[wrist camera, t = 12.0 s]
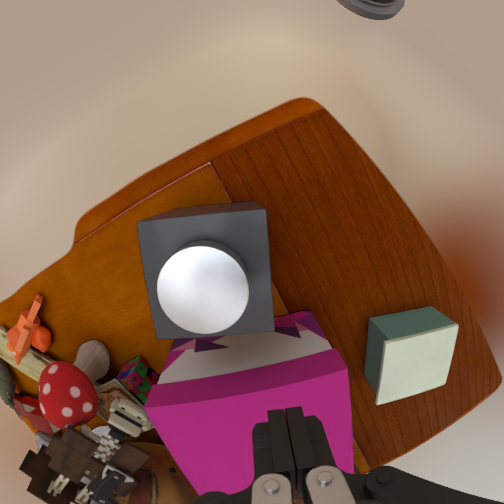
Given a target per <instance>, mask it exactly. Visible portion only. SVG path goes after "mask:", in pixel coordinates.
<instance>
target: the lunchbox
mask: <svg viewBox="0 0 504 504" xmlns="http://www.w3.org/2000/svg"><path fill="white" fill-rule="evenodd" d="M452 324H456V323H455V322H453V321H452V320H451V319H449V318H448V317H446V316H445V315H443V314H442V313H441V312H439V311H438V310H436V309H435V308H433V307H432V306H429V307H424V308H419V309H414V310H409V311H404V312H399V313H393V314H388V315H382V316H377V317H371V318H369V326H368V339H367V350H366V361H365V370H364V376H365V377H366V379H367V381H368V382H369V384H370V386H371V387H372V389H373V390H374V392H375V394H377V388H378V382H379V375H380V369H381V361H382V353H383V345H384V341H387V340H391V339H396V338H401V337H405V336H409V335H413V334H418V333H422V332H426V331H430V330H434V329H437V328H441V327H445V326H449V325H452Z"/></svg>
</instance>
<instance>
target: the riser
mask: <svg viewBox="0 0 504 504" xmlns="http://www.w3.org/2000/svg"><path fill="white" fill-rule="evenodd" d="M137 230H138V238H139V245H140V251H141V258H142V264H143V270H144V276H145V282H146V288H147V293H148V298H149V303H150V309H151V313H152V318H153V323H154V328H155V332H156V337H157V339H177V338H197V337H214V336H228V335H240V334H252V333H262V332H272V331H275V326H274V311H273V296H272V281H271V267H270V253H269V239H268V226H267V213H266V209H265V208H264V207H263V206H262V205H260V204H259V203H258V202H257V201H246V202H234V203H224V204H214V205H204V206H194V207H185V208H176V209H172V210H169V211H166V212H163V213H160V214H157V215H155V216H152V217H149V218H146V219H144V220H141V221H138V222H137ZM203 240H207V241H214V242H218V243H220V244H223V245H225V246H227V247H228V248H230V249H231V250H233V251H234V252H235V253H236V254H237V255H238V257H239V258H240V259H241V261H242V262H243V264H244V266H245V268H246V271H247V276H248V283H249V299H248V303H247V306H246V309H245V311H244V313H243V314H242V316H241V317H240V318H239V319H238V320H237V321H236V322H235V323H234V324H233V325H232V326H230V327H229V328H227V329H225V330H222V331H220V332H216V333H210V334H200V333H194V332H190V331H188V330H185V329H183V328H181V327H179V326H178V325H176V324H175V323H174V322H173V321H172V320H171V319H170V318H169V317H168V316H167V315H166V314H165V312H164V311H163V309H162V307H161V305H160V302H159V299H158V294H157V281H158V277H159V273H160V271H161V269H162V267H163V266H164V264H165V263H166V261H167V260H168V259H169V258H170V257H171V256H172V255H173V254H174V253H175V252H176V251H177V250H178V249H179V248H181V247H182V246H184V245H186V244H188V243H191V242H195V241H203Z"/></svg>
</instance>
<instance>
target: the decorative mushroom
mask: <svg viewBox="0 0 504 504" xmlns="http://www.w3.org/2000/svg"><path fill="white" fill-rule="evenodd" d="M109 364H110V354H109V352H108V349H107V348H106V347H105V345H104V344H102V343H101V342H99V341H97V340H91V341H88V342H86V343H84V344H82V345H81V346H80V347H79V350H78V352H77V358H76V360H75V362H74V364H71V363H68V362H65V361H56V362H53V363H50V364H49V365H47V366H46V367H45V368H44V369H43V371H42V373H41V375H40V379H39V382H38V384H39V406H40V409H41V412H42V414H43V415H44V417H45V419H46V420H47V421H48V422H49V423H51V424H52V425H53V426H55V427H57V428H61V429H66V428H67V426H68V425H70V426H71V427H73V428H74V427H76V426H79V425H83V424H86V423H87V422H89V421H90V420H91V419H92V418H94V416H95V414H96V413H97V409H98V396H97V392H96V389H95V387H94V385H93V383H94V382H95V381H96V380H97V379H100V378H102V377H104V376H105V375H106V374H107V372H108V370H109Z"/></svg>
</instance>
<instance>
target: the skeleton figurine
mask: <svg viewBox="0 0 504 504" xmlns="http://www.w3.org/2000/svg"><path fill="white" fill-rule="evenodd" d="M110 411H111V414H110V417H109V419H108V422H109V423H110V424H109V428H110V431H109V433H108V434H107V436H106V437H105V436H104V435H102V436H101V437H100V436H98V435H96V434H95V433H93V432H91V431H90V430H91V427H89V426H87V425H86V424H83V426H82V428H81V429H80V431H78V430H76V429H74V428H73V427H71V426H70V425H68V426H67V428H66V430H65V432H64V434H63V435H62V437H61V436H59V435H58V434H56V433H54V435H53V437H52V439H51V441H50V443H49V445H48V447H47V446H45V445H44V444H43V445H42V446H41V448H40V450H39V452H38V454H36V453H34V452H33V451H31V450H29V452H28V454H27V455H26V457H25V459H24V461H23V463H22V464H21V466H20V468H19V469H20V470H21V471H22V472H24V473H25V474H27V475H28V476H30V477H31V478H32V480H31V482H30V484H29V486H28V488H27V491H28V492H30V493H31V494H33V495H34V496H36V497H38V498H39V499H41V500H42V501H44V502H46V503H47V504H70V502H73V503H75V504H90V503H91V499H90V498H89V495H91V494H93V493H94V489H95V485H96V484H97V482H98V481H99V480H100V479H101V478H102V473H103V470H104V468H105V466H106V465H107V464H109V465H110V466H112V467H114V468H115V467H117V468H119V469H120V470H122V471H124V472H125V474H126V475H128V476H130V477H132V476H131V475H132V474H133V473H134V472H135V471H136V470H137V469H138V468H139V467H140V466H141V465H142V464H143V463H144V462H145V461H146V460H147V459H148V458H149V457H150V456H151V453H150V452H148V451H146V450H144V449H142V448H140V447H138V446H136V445H134V444H132V443H130V442H128V441H125V443H124V444H123V445H122V446H121V445H120V444H118V442H119V441H121V440H122V439H124V438H125V437H126V438H129V437H130V436H133V437H135V438H136V437H138V436H139V434H140V431H141V429H143V430H145V431H146V430H148V429H149V427H150V424H151V420H150V418H148V417H149V416H148V414H147V413H146V411H145V409H144V408H142V407H140V406H138V405H137V404H135V403H133V402H132V401H130V400H128V399H127V398H126V399H123V398H120V399H119V400H117V399H116V398H115V400H114V401H113V402H112V403H111V405H110ZM100 440H102V441H103V442H105V443H107V445H104V444H102V443H100ZM96 441H98V443H97V442H96ZM111 446H112V447H114V448H116V449H118V451H115V450H113V449H111ZM98 447H99V448H100V449H102V450H104V451H103V452H101V451H99V450H98ZM107 452H108V453H109V454H111V455H113V457H110V456H108V455H107ZM95 455H98V456H99V458H95ZM103 459H105V460H106V461H105V462H103V461H101V460H103ZM111 471H112V470H110V469H107V471H106V474H108V473H109V472H111ZM83 477H86V478H88V479H89V480H90V481H89V483H88V484H85V483H83V482H81V481H80V480H81V479H82V478H83ZM132 478H133V479H134V481H133V482H124V483H123V484H121V485H119V486H118V488H119V490H116V491H114V492H115V493H117V494H120V495H122V496H124V497H125V496H127V495H128V494H129V493H130V492H131V491H132V490H133V489H135V488H136V487H137V486H138V485H139V484H140V483H141V480H139V479H137V478H135V477H132Z"/></svg>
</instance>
